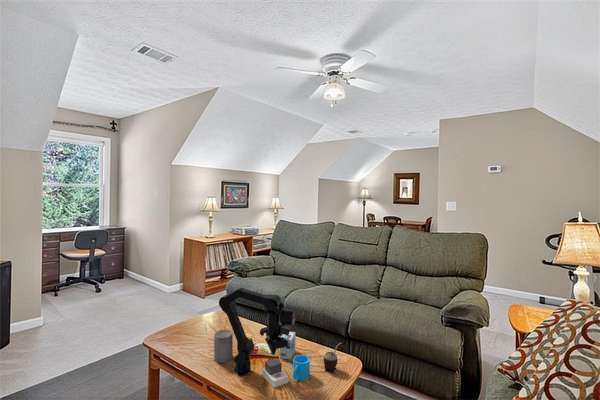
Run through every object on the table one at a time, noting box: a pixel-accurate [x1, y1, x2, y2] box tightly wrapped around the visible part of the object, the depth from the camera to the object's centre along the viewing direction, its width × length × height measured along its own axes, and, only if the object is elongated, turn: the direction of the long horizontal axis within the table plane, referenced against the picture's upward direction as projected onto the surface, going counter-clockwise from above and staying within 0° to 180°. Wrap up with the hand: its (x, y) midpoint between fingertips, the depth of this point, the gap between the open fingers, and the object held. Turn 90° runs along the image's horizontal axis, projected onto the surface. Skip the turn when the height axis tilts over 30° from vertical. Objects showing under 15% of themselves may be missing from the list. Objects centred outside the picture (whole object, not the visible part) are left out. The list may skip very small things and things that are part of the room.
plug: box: [264, 357, 283, 375], centre depth 153 cm, size 6×6×7 cm
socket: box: [261, 367, 289, 389], centre depth 151 cm, size 8×12×4 cm, turn 33°
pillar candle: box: [213, 329, 234, 364], centre depth 169 cm, size 10×10×15 cm
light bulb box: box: [279, 331, 297, 360], centre depth 175 cm, size 11×7×11 cm, turn 168°
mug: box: [292, 354, 311, 381], centre depth 152 cm, size 12×8×8 cm
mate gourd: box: [323, 342, 343, 374], centre depth 160 cm, size 8×8×15 cm
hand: (273, 354), depth 153 cm, fingers closed
